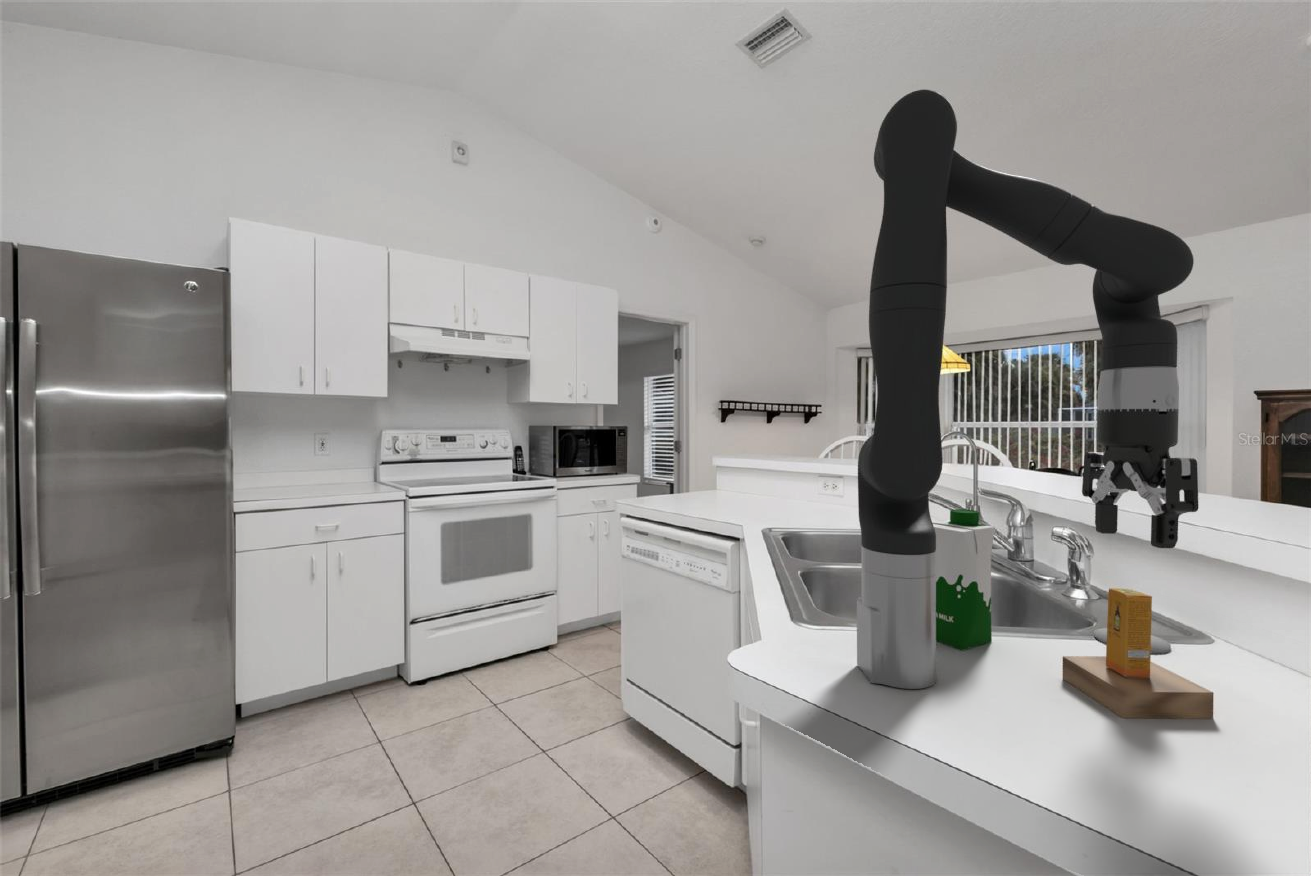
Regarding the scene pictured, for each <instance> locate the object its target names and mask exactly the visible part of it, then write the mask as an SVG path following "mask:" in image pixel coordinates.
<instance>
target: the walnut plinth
mask: <svg viewBox="0 0 1311 876" xmlns="http://www.w3.org/2000/svg"><path fill="white" fill-rule="evenodd" d="M1062 680H1064V681H1065V682H1066V683H1068V684H1070V685H1071V686H1073V687H1075V688H1076V689H1077V690H1079V691H1080V692H1083V694H1086V695H1087V696H1088V697H1090V698H1092V699H1093V700H1095V701H1096V702H1097V703H1099V704H1100V705H1102V706H1103V707H1105V708H1107V709H1108V710H1110V711H1111V712H1113V713H1114V714H1116V715H1117V716H1119V717H1121V718H1122V719H1204V720H1205V719H1211V720H1212V719H1213V720H1214V692H1213V691H1211V690H1209V689H1207V688H1205V687H1203V686H1201V685H1199V684H1198V683H1195V682H1193V681H1191V680H1189V679H1187V678H1185V677H1183V676H1181V675H1179V674H1177V673H1175V672H1173V671H1171V670H1169V669H1167V668H1165V667H1163V666H1161V665H1159V664H1156V662H1153V661H1152V660H1150V678H1129V677H1124V676H1122V675H1121V674H1119V673H1117V672H1115V671H1114V670H1112V669H1109V668H1108V667H1106V655H1104V656H1099V655H1098V656H1090V655H1089V656H1087V655H1086V656H1085V655H1083V656H1082V655H1081V656H1080V655H1079V656H1075V655H1074V656H1073V655H1072V656H1069V655H1063V656H1062Z"/></svg>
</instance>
